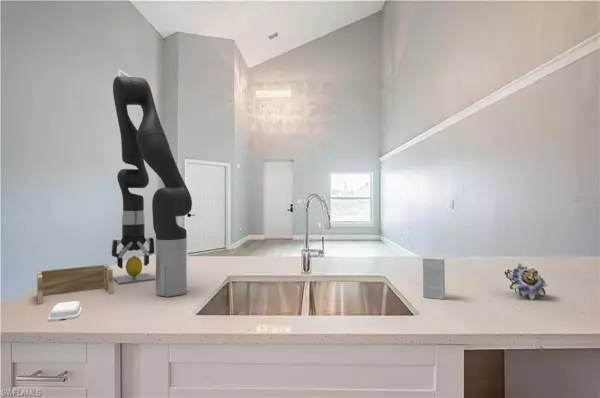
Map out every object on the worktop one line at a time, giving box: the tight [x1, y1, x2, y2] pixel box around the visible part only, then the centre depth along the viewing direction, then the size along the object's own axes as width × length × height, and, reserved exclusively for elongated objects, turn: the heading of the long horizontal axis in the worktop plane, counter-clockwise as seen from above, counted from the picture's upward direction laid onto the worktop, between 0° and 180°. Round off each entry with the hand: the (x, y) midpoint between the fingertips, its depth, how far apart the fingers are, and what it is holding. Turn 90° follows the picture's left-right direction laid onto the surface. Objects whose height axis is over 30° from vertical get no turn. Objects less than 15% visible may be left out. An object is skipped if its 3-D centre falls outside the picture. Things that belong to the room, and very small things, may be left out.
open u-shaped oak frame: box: [36, 264, 114, 305], centre depth 112 cm, size 11×19×8 cm, turn 127°
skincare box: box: [422, 255, 446, 300], centre depth 110 cm, size 6×4×12 cm
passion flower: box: [504, 262, 550, 301], centre depth 111 cm, size 11×11×12 cm
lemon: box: [125, 255, 143, 277], centre depth 134 cm, size 6×6×8 cm
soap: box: [47, 300, 83, 322], centre depth 93 cm, size 9×7×3 cm
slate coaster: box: [113, 272, 156, 285], centre depth 134 cm, size 12×12×1 cm
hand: (133, 266), depth 134 cm, fingers open, 8 cm apart
